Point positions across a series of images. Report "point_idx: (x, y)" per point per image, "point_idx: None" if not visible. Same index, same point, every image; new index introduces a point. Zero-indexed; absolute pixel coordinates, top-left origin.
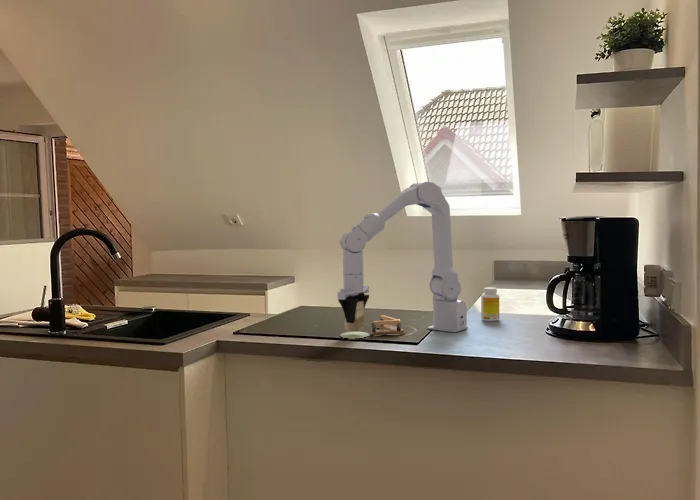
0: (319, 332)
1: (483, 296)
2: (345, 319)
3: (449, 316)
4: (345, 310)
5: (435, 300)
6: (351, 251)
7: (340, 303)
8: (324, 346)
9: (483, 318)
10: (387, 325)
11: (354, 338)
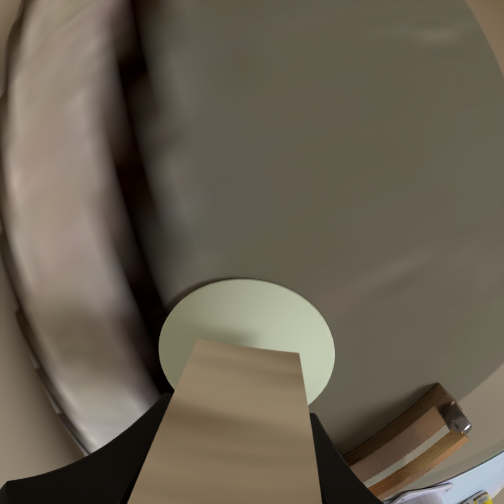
0: (279, 96)
1: None
2: (176, 393)
3: None
4: (118, 460)
5: None
6: None
7: (36, 480)
8: (19, 285)
9: (468, 502)
10: (419, 437)
11: (169, 381)
